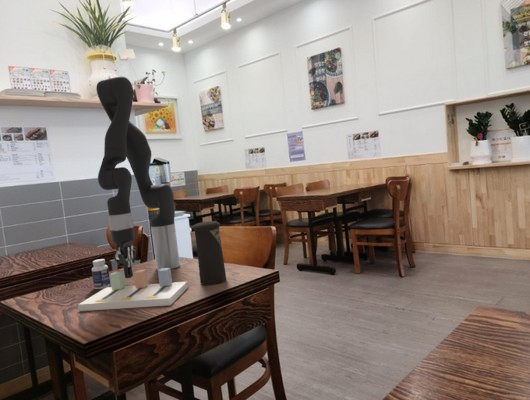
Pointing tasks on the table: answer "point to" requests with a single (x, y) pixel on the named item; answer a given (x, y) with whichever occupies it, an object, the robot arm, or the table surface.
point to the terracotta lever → (141, 278)
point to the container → (209, 253)
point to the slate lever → (165, 276)
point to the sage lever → (117, 280)
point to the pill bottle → (100, 274)
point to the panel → (134, 297)
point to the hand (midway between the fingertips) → (129, 277)
